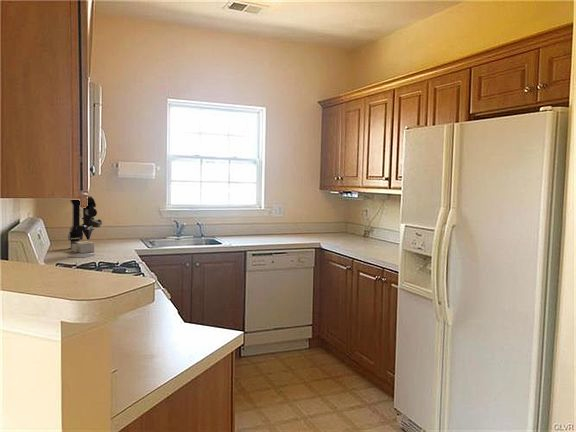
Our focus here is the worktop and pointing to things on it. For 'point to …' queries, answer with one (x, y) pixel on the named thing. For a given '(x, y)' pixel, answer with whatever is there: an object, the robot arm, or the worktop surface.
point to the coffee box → (82, 246)
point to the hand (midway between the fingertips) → (88, 239)
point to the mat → (81, 255)
